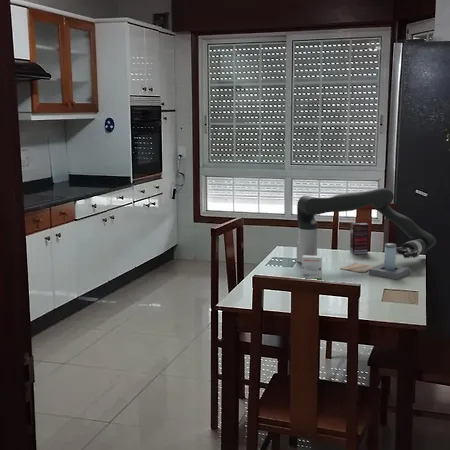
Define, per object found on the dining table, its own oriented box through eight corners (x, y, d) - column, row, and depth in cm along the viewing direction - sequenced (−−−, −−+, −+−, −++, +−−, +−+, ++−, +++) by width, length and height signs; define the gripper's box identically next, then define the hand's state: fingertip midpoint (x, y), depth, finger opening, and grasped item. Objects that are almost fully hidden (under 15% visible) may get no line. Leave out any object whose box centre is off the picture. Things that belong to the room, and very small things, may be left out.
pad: (340, 269, 300) (340, 268, 300) (354, 263, 310) (354, 262, 310) (362, 273, 292) (362, 272, 292) (376, 267, 303) (376, 266, 303)
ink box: (321, 281, 279) (322, 255, 277) (321, 284, 275) (321, 257, 272) (302, 280, 281) (302, 254, 279) (301, 283, 276) (301, 257, 274)
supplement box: (364, 251, 336) (365, 222, 333) (368, 253, 331) (369, 224, 328) (349, 252, 335) (350, 223, 332) (352, 254, 330) (353, 224, 327)
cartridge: (381, 273, 291) (383, 244, 288) (386, 271, 294) (388, 242, 292) (391, 275, 288) (393, 246, 285) (396, 273, 291) (398, 244, 289)
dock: (368, 274, 290) (368, 269, 290) (382, 268, 301) (382, 263, 300) (396, 279, 281) (396, 274, 281) (410, 273, 292) (410, 268, 291)
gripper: (398, 239, 310) (382, 244, 298) (425, 243, 301) (411, 248, 289) (397, 254, 312) (382, 260, 300) (424, 258, 303) (410, 264, 291)
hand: (396, 254), depth 295 cm, fingers open, 8 cm apart
